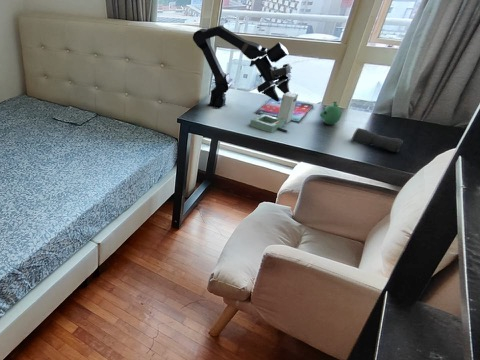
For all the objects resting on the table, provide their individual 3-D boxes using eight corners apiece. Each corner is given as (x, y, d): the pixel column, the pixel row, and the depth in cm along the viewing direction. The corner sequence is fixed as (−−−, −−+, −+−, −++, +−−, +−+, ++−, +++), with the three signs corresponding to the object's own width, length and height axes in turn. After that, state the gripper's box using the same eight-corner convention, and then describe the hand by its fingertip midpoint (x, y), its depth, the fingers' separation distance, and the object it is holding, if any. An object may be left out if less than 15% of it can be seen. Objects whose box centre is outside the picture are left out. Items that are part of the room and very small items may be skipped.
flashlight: (400, 150, 141) (406, 137, 138) (396, 155, 138) (402, 142, 135) (354, 138, 150) (359, 126, 148) (349, 142, 148) (354, 130, 145)
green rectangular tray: (249, 125, 164) (251, 119, 163) (261, 119, 169) (263, 113, 168) (280, 136, 155) (282, 129, 153) (292, 129, 160) (294, 122, 158)
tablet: (255, 113, 176) (255, 111, 175) (272, 98, 191) (273, 96, 191) (299, 123, 165) (299, 121, 164) (313, 106, 180) (314, 104, 180)
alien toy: (317, 119, 167) (324, 98, 162) (337, 122, 164) (344, 100, 159) (317, 125, 162) (324, 103, 157) (337, 128, 159) (345, 106, 154)
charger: (276, 120, 168) (282, 94, 161) (281, 117, 170) (288, 91, 163) (286, 123, 165) (293, 97, 158) (291, 120, 167) (298, 94, 160)
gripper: (270, 62, 154) (289, 94, 153) (292, 54, 164) (311, 84, 162) (248, 77, 164) (266, 107, 162) (271, 68, 173) (288, 97, 172)
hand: (284, 98), depth 164 cm, fingers open, 9 cm apart
